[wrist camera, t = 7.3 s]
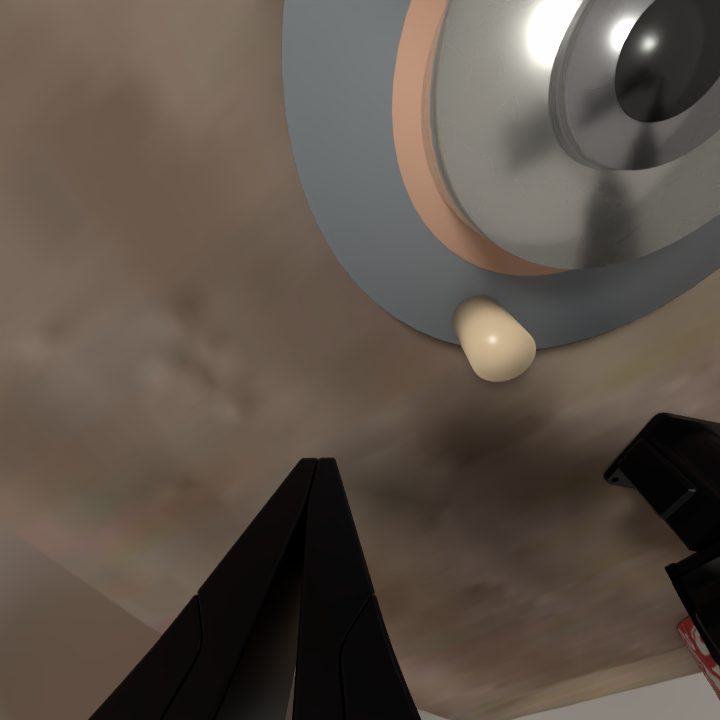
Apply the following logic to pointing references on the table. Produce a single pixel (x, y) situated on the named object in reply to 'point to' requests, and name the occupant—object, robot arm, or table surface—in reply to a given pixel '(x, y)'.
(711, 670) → the mug
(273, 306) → the table surface
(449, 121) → the cover
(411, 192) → the turntable
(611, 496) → the table surface
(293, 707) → the robot arm
